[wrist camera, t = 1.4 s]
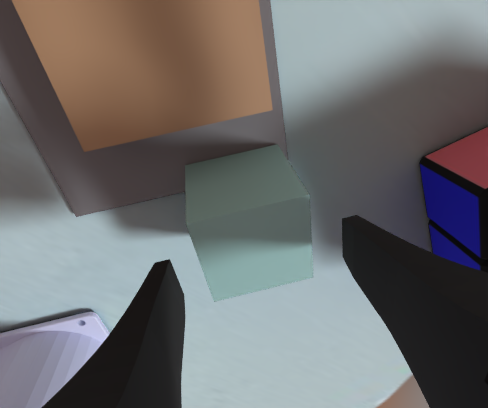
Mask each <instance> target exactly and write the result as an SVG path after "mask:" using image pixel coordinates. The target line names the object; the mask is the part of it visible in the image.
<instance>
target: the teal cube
mask: <svg viewBox="0 0 488 408" xmlns="http://www.w3.org/2000/svg"><path fill="white" fill-rule="evenodd" d="M185 195H186V225H187V228H188V231H189V234H190V237H191V239H192V242H193V245H194V248H195V250H196V253H197V256H198V259H199V261H200V264H201V267H202V270H203V272H204V275H205V278H206V281H207V283H208V286H209V289H210V292H211V294H212V297H213V300H214V302H215V301H219V300H224V299H228V298H232V297H236V296H240V295H244V294H248V293H252V292H256V291H260V290H264V289H268V288H272V287H276V286H280V285H284V284H288V283H292V282H297V281H301V280H305V279H309V278H313V259H312V237H311V215H310V195H309V193H308V191H307V190H306V188H305V187H304V185H303V184H302V182H301V180H300V179H299V177H298V176H297V174H296V173H295V171H294V169H293V168H292V166H291V165H290V163H289V162H288V160H287V158H286V157H285V155H284V154H283V152H282V150H281V149H280V147H279V146H278V144H276V145H272V146H268V147H263V148H259V149H254V150H250V151H246V152H241V153H237V154H232V155H228V156H224V157H219V158H215V159H210V160H206V161H202V162H197V163H193V164H188V165H185Z"/></svg>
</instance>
